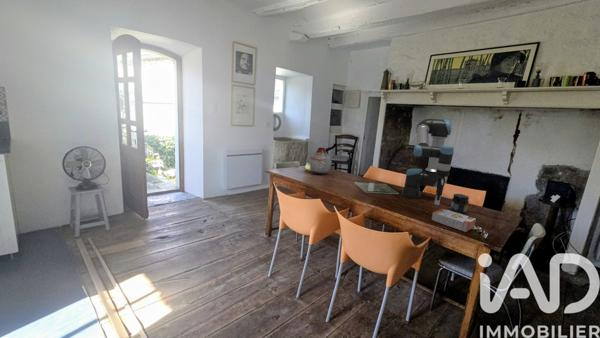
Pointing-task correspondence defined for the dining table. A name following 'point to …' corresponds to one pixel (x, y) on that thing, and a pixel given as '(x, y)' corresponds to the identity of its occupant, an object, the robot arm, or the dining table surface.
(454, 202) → the supplement container
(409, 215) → the dining table surface
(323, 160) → the vase
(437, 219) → the cracker box
